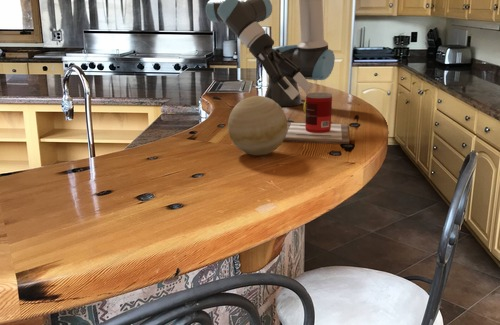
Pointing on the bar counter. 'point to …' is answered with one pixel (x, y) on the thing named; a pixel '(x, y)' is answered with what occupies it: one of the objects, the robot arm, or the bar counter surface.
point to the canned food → (318, 112)
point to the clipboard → (316, 134)
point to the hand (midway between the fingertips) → (303, 93)
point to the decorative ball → (257, 125)
